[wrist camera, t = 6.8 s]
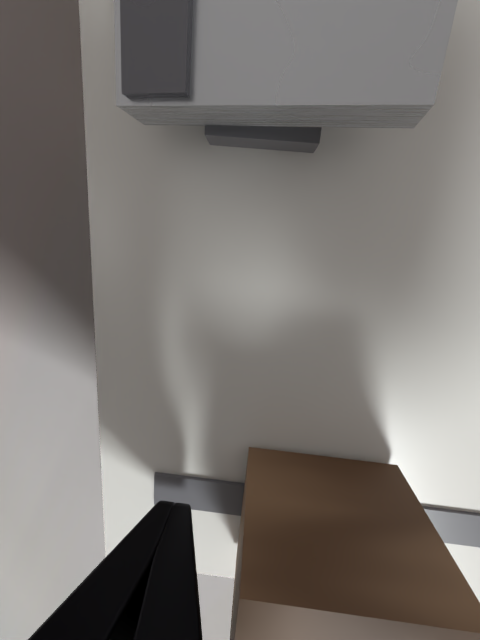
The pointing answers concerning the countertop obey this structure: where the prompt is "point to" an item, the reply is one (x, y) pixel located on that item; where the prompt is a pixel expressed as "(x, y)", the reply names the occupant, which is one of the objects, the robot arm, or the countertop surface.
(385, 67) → the rocker switch
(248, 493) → the slider knob
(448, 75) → the control panel
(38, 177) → the countertop surface
